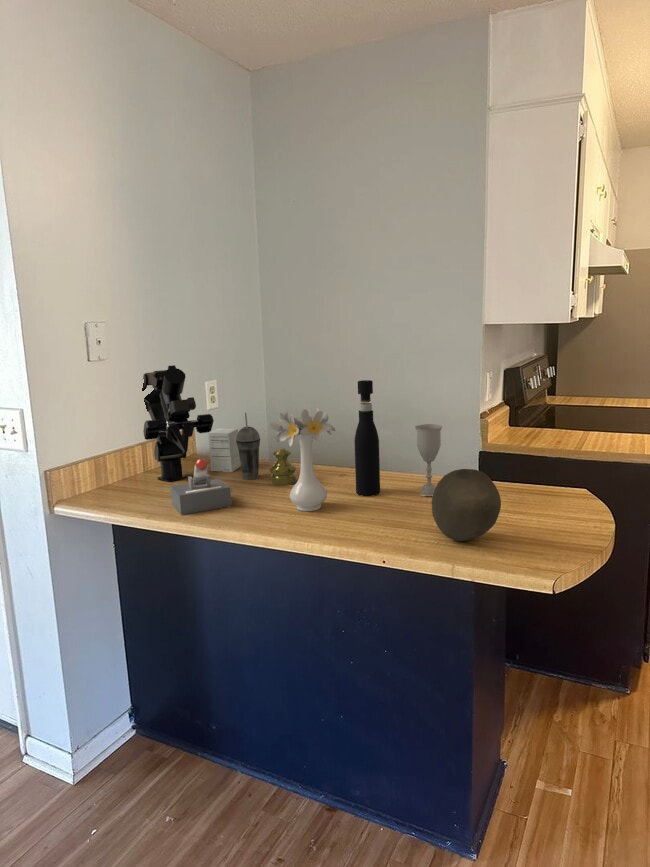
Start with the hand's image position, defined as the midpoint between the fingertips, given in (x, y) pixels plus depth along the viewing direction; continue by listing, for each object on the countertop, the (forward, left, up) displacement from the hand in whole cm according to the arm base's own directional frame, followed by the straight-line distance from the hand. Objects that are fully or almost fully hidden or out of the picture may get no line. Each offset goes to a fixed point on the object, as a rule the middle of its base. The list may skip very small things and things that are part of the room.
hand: (185, 451), depth 171 cm
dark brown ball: (+78, +13, -12) cm, 80 cm away
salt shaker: (+13, +24, -12) cm, 30 cm away
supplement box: (-14, +25, -12) cm, 31 cm away
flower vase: (+35, +10, -12) cm, 38 cm away
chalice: (+54, +37, -12) cm, 66 cm away
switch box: (+11, -4, -12) cm, 17 cm away
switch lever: (+11, -4, -6) cm, 13 cm away
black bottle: (+40, +29, -12) cm, 51 cm away
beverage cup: (+1, +22, -12) cm, 25 cm away
